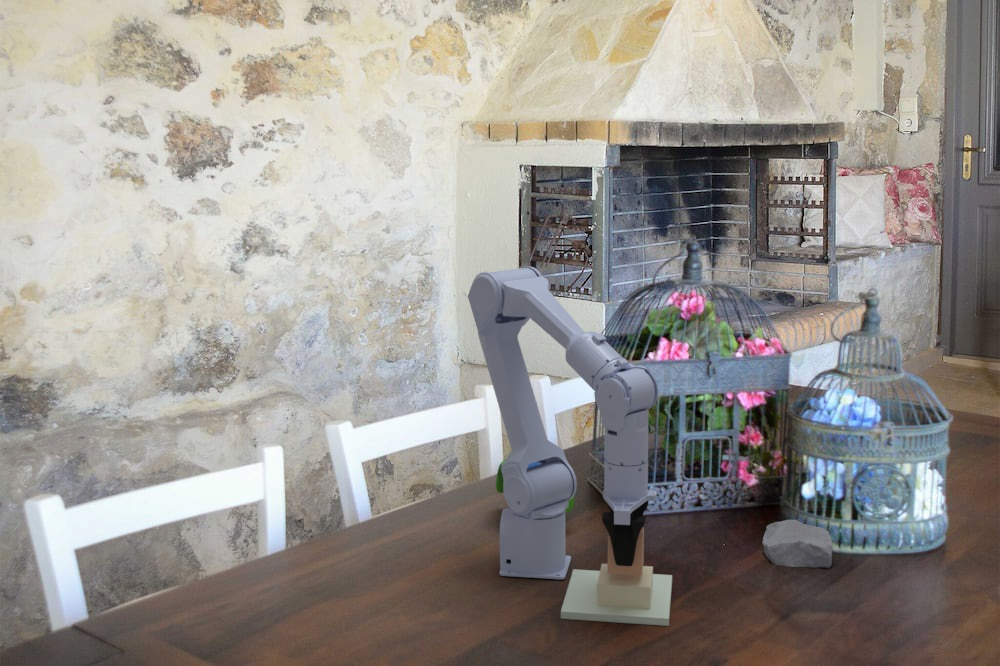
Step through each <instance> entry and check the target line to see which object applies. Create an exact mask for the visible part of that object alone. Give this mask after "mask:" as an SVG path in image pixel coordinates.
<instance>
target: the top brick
mask: <svg viewBox="0 0 1000 666" xmlns="http://www.w3.org/2000/svg"><path fill="white" fill-rule="evenodd" d="M644 548H645V527H644V526H643V528H642V529H641V531H640V534H639V536H638V540H637V544H636V550H635V556H634V561H633V564H632V566H619V565H616V562H615V558H614V554H613V548H612V543H611V539H610V536H609V533H608V535H607V564H608V573H613V574H630V575H642V570H643V566H644V563H645V560H644V559H645V556H644V555H645V550H644Z"/></svg>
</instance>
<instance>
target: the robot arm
mask: <svg viewBox="0 0 1000 666" xmlns="http://www.w3.org/2000/svg"><path fill="white" fill-rule="evenodd" d="M468 291H469V292H468V293H467V298H468V301H469V306H470V309H471V311H472V315H473V319H474V322H475V326H476V330H477V335H478V338H479V343H480V346H481V348H482V349H481V350H482V352H483V353H482V354H483V356H484V360H485V363H486V368H487V370H488V373H489V377H490V380H491V385H492V388H493V390H494V394H495V398H496V400H497V404H498V408H499V412H500V415H501V418H502V422H503V426H504V428H505V432H506V435H507V439H508V443H509V446H510V450H511V451H509V452H510V453H509V454H508V455H507V456H506V458H505V459H506V460H505V459H504V460H505V461H504V463H503V464H502V466H501V471H502V475H503V482H504V483H503V497H504V500H505V503H507V506H508V507H507V508H503V510H502V512H501V516H500V522H499V566H500V567H499V576H502V577H515V578H516V577H517V578H533V579H546V580H548V579H550V580H564V579H566V576H567V573H568V570H569V567H570V564H571V561H572V556H571V555H566V513H565V509H566V508H568V507H569V500H570V499H572V498H573V497H574V498H575V495H576V492H577V489H578V481H577V480H578V479H577V476H576V474H575V471H574V469H573V467H572V466H571V465H570V463H569V461H568V460H567V457H566V453H565V451H564V449H563V448H562V447H560V446H558V445H557V444H556V443H554V442H552V441H550V440H549V439H548V436H547V433H546V430H545V426H544V424H543V420H542V416H541V413H540V410H539V407H538V402H537V400H536V397H535V393H534V392H535V391H534V389H533V386H532V383H531V379H530V376H529V373H528V369H527V366H526V363H525V359H524V355H523V352H522V348H521V345H520V342H519V338H518V337H519V334H520V332H521V330H522V328H523V327H524V326H525V325H526V324H527V322H529V320H532V321H533V322H534V323H535V324H536V325H537V326H538V327H540V328H541V329H542V330H543V331H544V332H545V333H546V334H548V335H549V336H550V337H551V338H552V339H554V341H556V342H557V344H559V345H560V346H562V347H563V348H564V349H565V354H564V355H565V360H566V363H567V364H568V365H569V367H570V368H571V369H572V370H574V372H576V374H577V375H579V377H580V378H582V380H583V381H584V382H585V383H586V384H587V385H588V386H589V387H590V388H591V389H592V390H593V391H594V392H593V395H594V400H595V404H596V406H597V409H598V410H599V412H600V417H601V419H600V420H601V422H600V423H601V424H602V426H603V428H604V449H603V450H604V452H603V453H604V454H603V455H604V456H603V457H604V461H603V462H604V463H603V464H604V466H603V467H604V471H603V472H604V481H603V482H604V483H603V484H604V489H603V490H602V498H603V499H604V501H605V502H606V504H607V507H608V509H609V512H608V511H603V512H602V515H601V521H602V523H603V526H604V527H605V529H606V531H607V533H608V534H609V536H610V539H611V543H612V548H613V554H614V558H615V562H616V565H619V566H632V564H633V561H634V556H635V550H636V544H637V540H638V536H639V534H640V531H641V529H642V528H643V527H644V526H645V523H646V520H647V516H646V515H645V516H643V515H644V513H645V511H646V509H647V507H648V506H649V501H656V500H657V496H658V495H657V490H649V489H648V488H649V485H648V484H649V413H650V411H649V409H651V408H652V407H653V406H655V404H656V402H657V400H658V397H659V387H658V383H657V381H656V378H655V376H654V375H653V374H652V372H651V371H650V369H649V368H647V367H645V366H642V365H634V364H633V362H629V361H628V360H627V359H625V358H624V357H622V356H621V354H619V353H618V352H617V351H616V350H615V349H614V347H612V346H611V345H610V344H609V343H608V342H607V338H606V336H604V334H603V333H602V332H601V333H598V332H597V331H584V330H583V328H582V327H580V325H579V324H578V323H577V322H576V320H574V318H573V317H572V316H571V314H570V313H569V312H568V311H567V310H566V309H565V308H564V307H563V305H562V304H561V303H560V302H559V300H557V298H556V296H554V295H553V293H552V292H551V288H550V281H549V280H548V278H546V277H545V276H543V275H542V273H541V272H540V271H539V270H538V268H536V267H533V266H529V265H527V266H523V267H520V268H515V269H514V268H513V269H506V270H505V269H504V270H499V271H491V272H488V271H483V272H479V273H478V274H477V275H476V276H475V277H474V279H473V281H472V284H471V286H470V288H469V290H468ZM534 462H539V463H541V465H537V466H534V467H531V468H527V467H528V466H529V465H530V464H531V463H534Z"/></svg>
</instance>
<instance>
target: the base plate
mask: <svg viewBox="0 0 1000 666" xmlns="http://www.w3.org/2000/svg"><path fill="white" fill-rule="evenodd" d="M672 588H673V575H672V574H661V573H660V574H659V573H654V566H650V565H643V570H642V575H630V574H613V573H608V563H601V565H600V569H599V570H592V569H591V570H590V569H575V568H573V569H572V573H571V576H570V579H569V582H568V585H567V588H566V589H567V590H566V593H565V595H564V600H563V603H562V606H561V610H560V620H561V619H563V620H574V621H576V620H577V621H588V622H589V621H590V622H602V623H603V622H606V623H607V622H608V623H620V624H635V625H647V626H648V625H650V626H665V627H666V626H667V627H669V626H670V616H671V615H670V613H671V603H672V602H671V601H672Z"/></svg>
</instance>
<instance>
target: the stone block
mask: <svg viewBox="0 0 1000 666" xmlns="http://www.w3.org/2000/svg"><path fill="white" fill-rule="evenodd" d="M797 520H798V519H785V520H782V521H775V522H773V523H769V524H768V525H767V526H766V528H765V529H766V530H765V532H764V535H763V537H762V546H763V551H764V555H765V557H766V558H767V559H768V560H769V561H770V562H771V563H772V564H773V565H776V566H781V567H782V566H783V567H789V568H804V567H805V568H814V569H815V568H822V569H823V568H824V569H830V568H831V566H832V565H833V541H832V536H831V534H830V533H829V530H828V531H827V530H825V529H823V528H821V527H816V526H811V525H807V524H803V523H801V522H799V521H797Z"/></svg>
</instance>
